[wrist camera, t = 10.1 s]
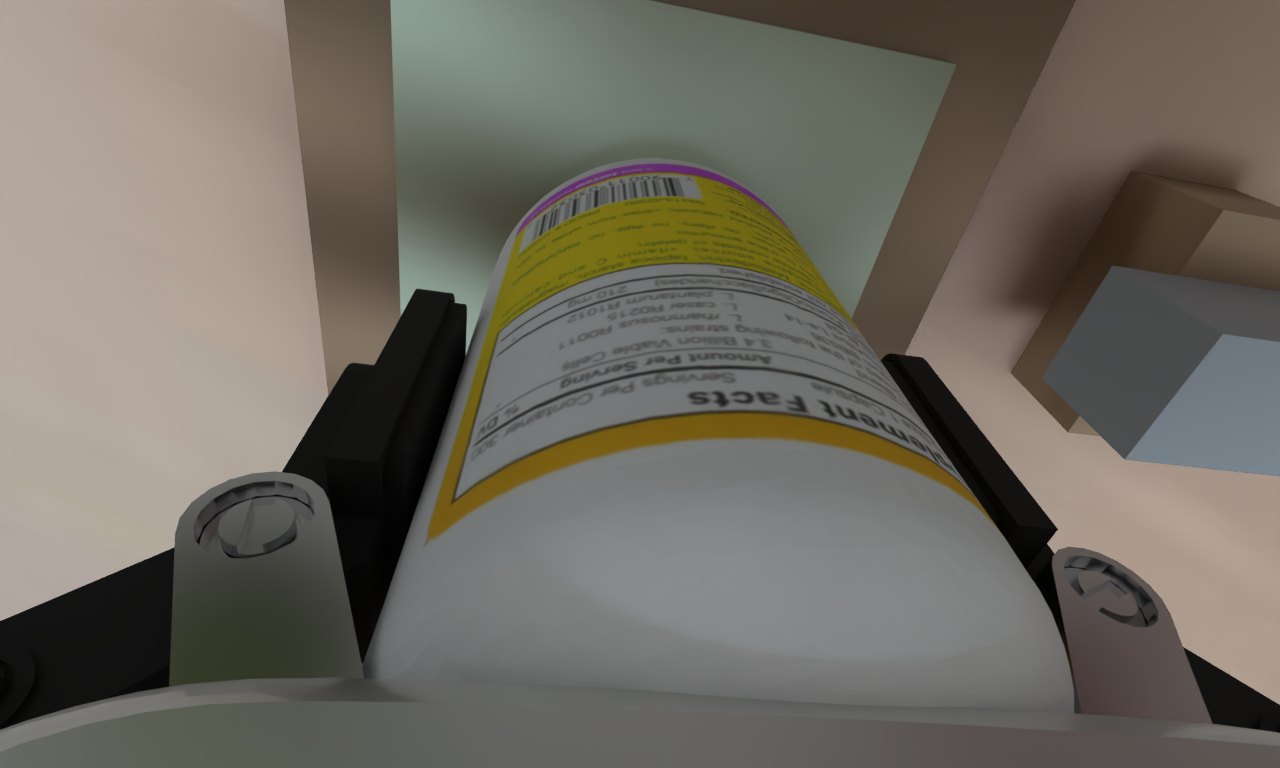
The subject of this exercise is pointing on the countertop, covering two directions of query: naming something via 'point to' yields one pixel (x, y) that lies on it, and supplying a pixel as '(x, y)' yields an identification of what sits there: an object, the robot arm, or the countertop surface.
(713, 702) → the robot arm
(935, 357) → the countertop surface
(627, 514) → the supplement bottle
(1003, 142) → the tile board
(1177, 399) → the brick grey
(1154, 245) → the brick walnut
